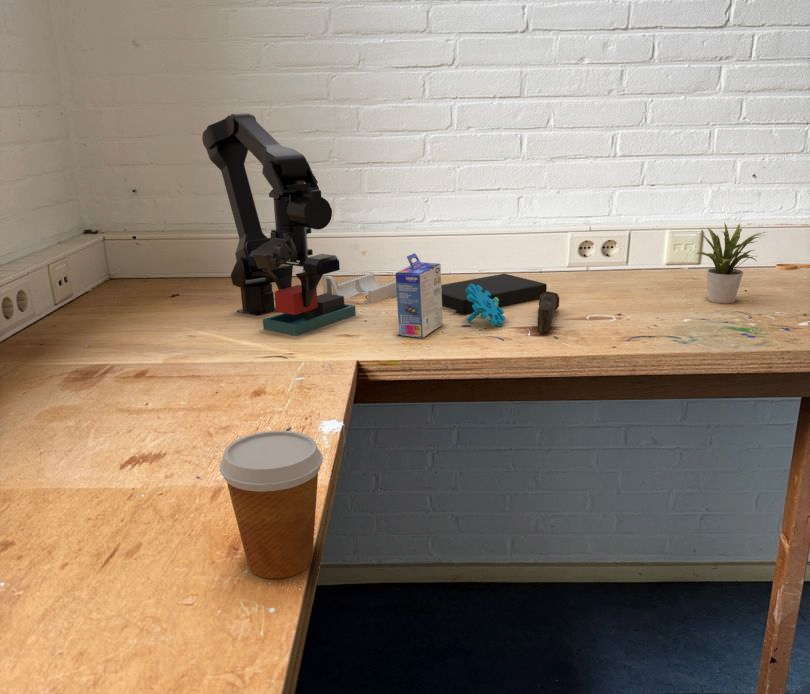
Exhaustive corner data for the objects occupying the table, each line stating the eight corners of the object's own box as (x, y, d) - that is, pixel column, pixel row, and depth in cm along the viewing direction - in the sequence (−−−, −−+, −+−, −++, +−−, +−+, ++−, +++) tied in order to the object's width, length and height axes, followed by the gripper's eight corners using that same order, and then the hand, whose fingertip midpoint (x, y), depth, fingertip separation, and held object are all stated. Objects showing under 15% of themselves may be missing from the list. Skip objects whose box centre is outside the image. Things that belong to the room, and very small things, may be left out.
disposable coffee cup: (211, 578, 75) (197, 463, 71) (262, 529, 84) (252, 423, 80) (300, 597, 72) (291, 478, 68) (345, 544, 80) (339, 435, 76)
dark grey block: (305, 319, 160) (303, 299, 159) (326, 312, 165) (325, 293, 164) (323, 322, 158) (322, 302, 156) (344, 315, 162) (343, 296, 161)
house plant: (763, 312, 159) (774, 230, 153) (689, 308, 163) (697, 227, 157) (758, 295, 171) (768, 219, 166) (689, 292, 176) (697, 217, 170)
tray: (263, 331, 154) (262, 319, 153) (324, 311, 168) (323, 300, 167) (295, 338, 149) (294, 325, 149) (356, 317, 163) (355, 305, 162)
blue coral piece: (494, 324, 149) (462, 283, 151) (472, 343, 152) (441, 302, 154) (517, 318, 158) (487, 279, 160) (496, 336, 161) (467, 298, 163)
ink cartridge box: (417, 322, 158) (416, 249, 153) (443, 325, 156) (442, 251, 151) (396, 335, 150) (394, 259, 145) (423, 338, 147) (421, 261, 142)
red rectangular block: (275, 311, 153) (274, 291, 152) (299, 304, 158) (297, 284, 157) (294, 315, 151) (293, 294, 149) (317, 307, 156) (316, 287, 154)
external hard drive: (422, 301, 174) (422, 288, 172) (503, 286, 186) (503, 273, 185) (463, 314, 162) (463, 300, 161) (546, 297, 175) (547, 283, 174)
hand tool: (539, 309, 165) (540, 287, 164) (559, 310, 164) (559, 288, 163) (527, 335, 148) (527, 311, 147) (549, 336, 147) (549, 311, 145)
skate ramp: (372, 305, 171) (371, 282, 170) (323, 298, 178) (322, 276, 176) (409, 291, 183) (408, 269, 182) (362, 285, 190) (361, 264, 188)
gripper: (224, 225, 148) (232, 307, 153) (297, 233, 138) (303, 321, 143) (267, 217, 157) (273, 295, 162) (339, 224, 146) (343, 307, 151)
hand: (296, 304), depth 154 cm, fingers closed on red rectangular block, 5 cm apart
